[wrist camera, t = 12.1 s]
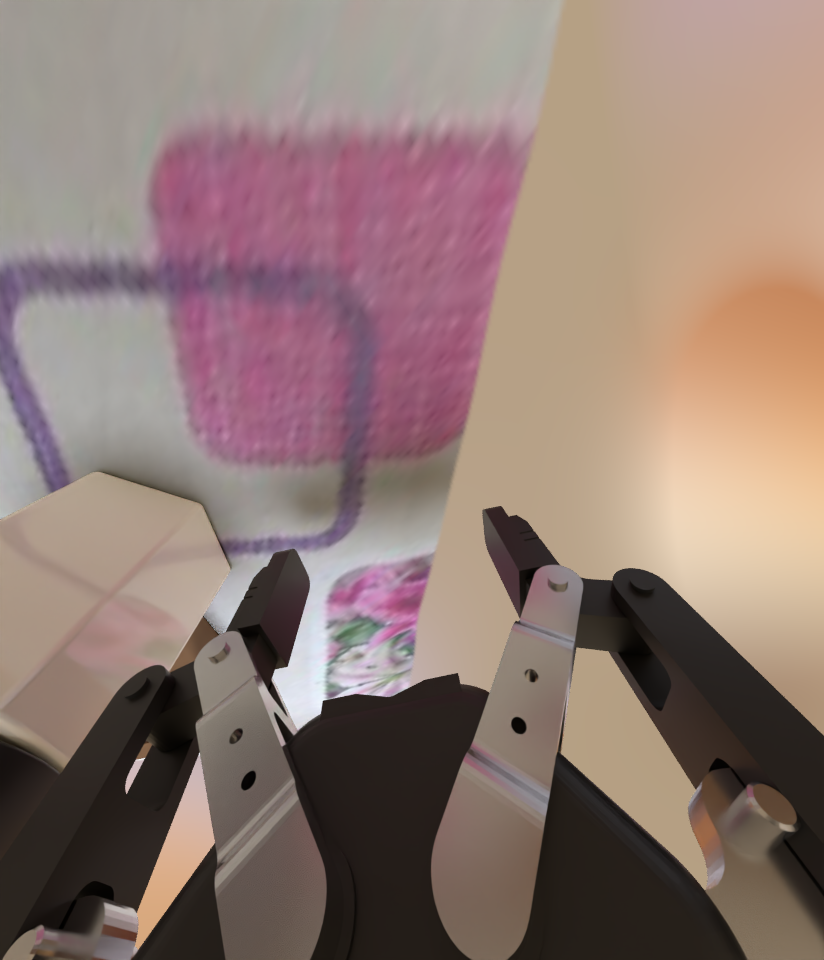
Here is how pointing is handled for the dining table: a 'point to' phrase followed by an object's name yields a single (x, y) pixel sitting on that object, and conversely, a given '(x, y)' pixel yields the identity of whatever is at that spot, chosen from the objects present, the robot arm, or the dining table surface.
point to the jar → (89, 617)
